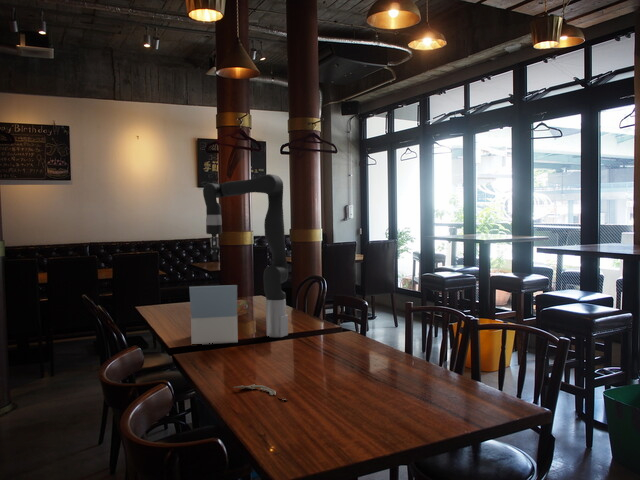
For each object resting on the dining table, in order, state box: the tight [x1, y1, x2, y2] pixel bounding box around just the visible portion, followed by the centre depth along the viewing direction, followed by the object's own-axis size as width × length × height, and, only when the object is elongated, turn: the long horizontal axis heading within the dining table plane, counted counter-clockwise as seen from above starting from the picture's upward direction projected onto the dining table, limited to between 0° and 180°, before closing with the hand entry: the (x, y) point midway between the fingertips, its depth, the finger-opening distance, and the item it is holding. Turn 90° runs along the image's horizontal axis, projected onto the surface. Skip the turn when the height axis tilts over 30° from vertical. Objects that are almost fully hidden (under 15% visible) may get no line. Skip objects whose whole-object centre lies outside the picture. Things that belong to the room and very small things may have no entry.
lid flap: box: [188, 284, 238, 319], centre depth 215 cm, size 18×20×1 cm
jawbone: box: [233, 383, 288, 401], centre depth 160 cm, size 9×20×2 cm, turn 61°
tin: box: [237, 299, 250, 317], centre depth 286 cm, size 15×3×8 cm, turn 143°
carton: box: [190, 316, 239, 345], centre depth 230 cm, size 18×20×12 cm
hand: (214, 259), depth 247 cm, fingers closed
